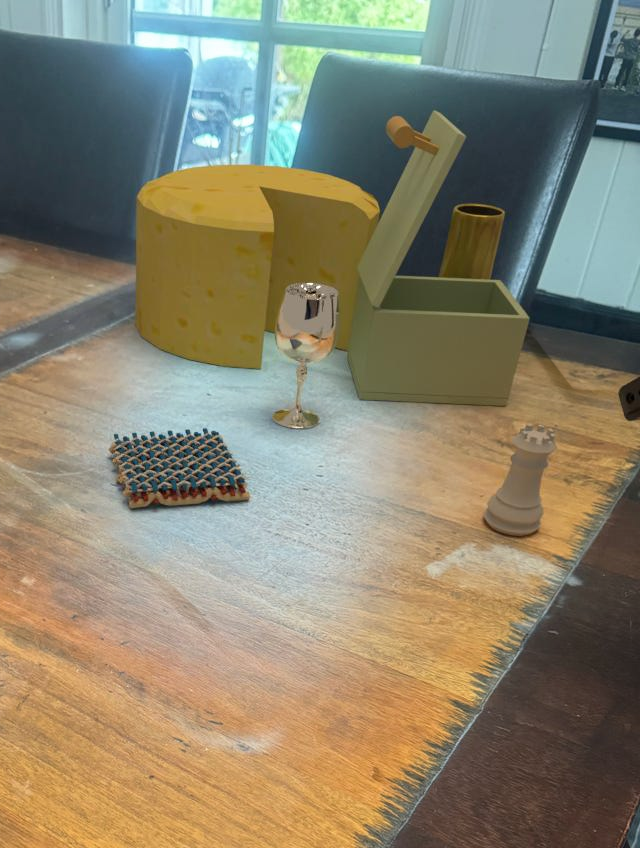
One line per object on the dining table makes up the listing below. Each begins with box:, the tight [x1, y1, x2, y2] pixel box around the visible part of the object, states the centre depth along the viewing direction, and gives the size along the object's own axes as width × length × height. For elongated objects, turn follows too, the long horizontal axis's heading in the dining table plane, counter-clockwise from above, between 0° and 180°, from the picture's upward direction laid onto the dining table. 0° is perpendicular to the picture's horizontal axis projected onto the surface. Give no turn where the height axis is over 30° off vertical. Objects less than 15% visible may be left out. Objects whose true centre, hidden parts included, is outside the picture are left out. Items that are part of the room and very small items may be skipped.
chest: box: [346, 274, 530, 407], centre depth 96 cm, size 15×12×9 cm
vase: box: [438, 203, 506, 280], centre depth 103 cm, size 6×6×14 cm
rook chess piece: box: [483, 423, 558, 537], centre depth 73 cm, size 4×4×8 cm
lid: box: [357, 109, 467, 307], centre depth 88 cm, size 15×12×5 cm
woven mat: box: [107, 427, 251, 509], centre depth 79 cm, size 10×11×2 cm
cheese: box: [134, 164, 381, 370], centre depth 105 cm, size 26×26×15 cm
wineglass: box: [272, 283, 340, 430], centre depth 86 cm, size 6×6×12 cm
